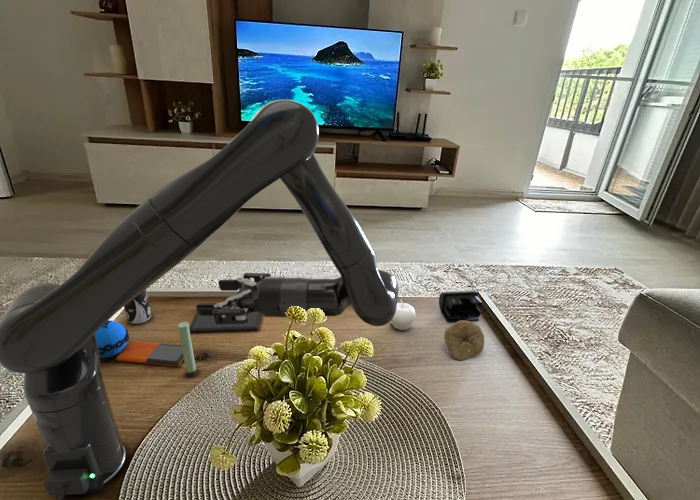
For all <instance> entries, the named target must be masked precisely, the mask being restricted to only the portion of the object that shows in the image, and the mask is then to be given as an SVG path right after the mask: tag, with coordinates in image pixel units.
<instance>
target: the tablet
mask: <svg viewBox="0 0 700 500" xmlns="http://www.w3.org/2000/svg"><path fill="white" fill-rule="evenodd" d="M233 308H234V309H236V308H237V306H236V304H235V303H233ZM222 309H229V307H228V306H226V307H223V308H222ZM261 315H262V314H261V313H259V312H253V313H249V314H248V316H247V319H248V322H247V323H245V324H216V323H215V319H214V316H205V315H204V316H201V315H199V314H198V311H197V312H196V314H195V316H194V317H193V320H192V322H191V324H190V326H189V330H190V334H205V333H207V334H208V333H210V334H211V333H237V332H239V333H240V332H258V331H259V326H260V321H261ZM222 318H226V316H225V317H222Z"/></svg>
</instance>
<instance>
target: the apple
mask: <svg viewBox="0 0 700 500" xmlns="http://www.w3.org/2000/svg"><path fill="white" fill-rule="evenodd" d="M416 315H417V313H416V310H415V308H414V306H412V305H411V304H409V303H406V302H403V300H402V299H399V302H397V307H396V312H395V315H394V317H393V319H392V320H391V321H390V323H391V325H392V326H393V328H394V329H397V330H399V331H406V330H408V329H409V328H410V327H411V326H412V325H413V323H414V322H415V319H416V317H417V316H416Z"/></svg>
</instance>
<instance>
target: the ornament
mask: <svg viewBox="0 0 700 500" xmlns="http://www.w3.org/2000/svg"><path fill="white" fill-rule="evenodd" d="M95 337H96V341H97V345H98V350H99V358H101V359H108V358H112V357H115V356H117V355H119V354H120V353H121V352H122V351H123V350H124V349H125V348H126V346H127V343H128V342H129V341H130V335H129V331H128V329H127V328H126V327H125V326H124V325H122V324H121V323H120V322H117V321H115V320H108V321H107V322H106V323H105V324H104V325H103V326H102V327H101V328H100V329H99V330H98V331H97V332H96V333H95Z"/></svg>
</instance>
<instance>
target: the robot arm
mask: <svg viewBox="0 0 700 500" xmlns="http://www.w3.org/2000/svg"><path fill="white" fill-rule="evenodd" d="M317 120H318V119H317V117H316V116H315V115H314V113H313V112H312V111H311V109H309V108H308V107H307V106H305V105H304V104H302V103H300V102H299V101H295V100H291V99H277V100H273V101H270V102H268V103H266V104H265V105H263V106H262V107H260V109H258V110H257V112H255V114H254V115H253V116H252V118H251V121H250V122H249V123H247V125H245V127H244V128H243V129H242V130H241V131H240V132H239V133H238V134H237V135H235V137H233V139H231V140H230V141H229V143H227V144H226V145H225V146H224V147H223V148H222V149H220V151H218V152H217V153H216V154H215V155H213V156H212V157H211V158H209V159H207V160H206V161H204V162H202V163H201V164H199V165H196V167H194V168H192V169H190V170H188V171H186V172H184V173H183V174H181V175H180V176H178V177H177V178H175V179H173V180H172V181H170V182H169V183H167V184H166V185H164V186H162V187H161V188H160V189H159V190H157V191H156V192H154V193H153V194H152V195H150V196H149V197H148V198H146V199H145V200H144V201H143V202H142V203H140V204H139V205H138V206H136V207H135V208H134V209H133V210H132V211H130V212H129V213H128V214H127V215H125V216H124V217H123V218H122V220H120V222H118V223H117V224H116V226H114V228H112V230H111V231H110V232H109V233H108V234H107V235H106V236H105V237H104V239H103V240H102V241H101V242H100V243H99V244H98V245H97V247H96V248H95V250H93V251H92V253H91V254H90V256H88V257H87V259H86V260H85V261H84V263H82V264H81V266H80V267H79V268H78V269H77V270H76V271H75V272H74V273H73V274H72V275H70V277H69V278H67V279H66V280H65V281H64V282H62V283H61V284H57V283H42V284H36V285H34V286H30V287H28V288H25V289H24V290H22V291H21V292H20V293H18V295H16V296H15V297H14V298H13V300H12V301H11V302H10V303H9V305H8V307H7V308H6V310H5V312H4V314H3V315H2V317H1V318H0V366H1V367H2V368H4V369H6V370H8V371H10V372H14V373H16V374H17V373H18V374H23V375H24V376H23V393H24V396H25V397H24V398H25V399H26V401H27V404H28V406H29V409H30V411H31V413H32V415H33V418H34V421H35V423H36V426H37V428H38V431H39V434H40V436H41V438H42V440H43V443H44V445H45V448H44V450H43V452H42V456H43V458H44V460H45V464H46V465H47V468H48V470H49V473H48V474H47V476H46V478H45V479H44V480H43V484H44V486H45V488H46V491H47V494H48V495H49V497H54V496H56V497H57V498H56V499H55V500H64V498H65V496H71V495H85V494H99V493H101V492H102V491H103V490H104V487H105V486H106V485H108V484H109V483H110V482H112V481H113V480H114V479H115V478H116V477H117V476H118V475H119V473H120V472H121V471H122V470H123V467H124V466H125V463H126V460H127V453H126V449H125V447H124V445H123V441H122V438H121V435H120V430H119V428H118V425H117V421H116V418H115V415H114V411H113V408H112V404H111V402H110V398H109V394H108V391H107V387H106V383H105V381H104V377H103V374H102V369H101V361H100V357H99V350H98V345H97V341H96V337H95V333H96V332H97V331H98V330H99V329H100V328H101V327H102V326H103V325H104V324H105V323H106V322H107V321H110V319H111V318H112V317H113V316H114V315H116V314H117V313H118V312H119V311H120V310H122V308H124V306H125V305H126V304H127V303H129V302H130V301H131V300H133V299H134V298H135V297H137V296H138V295H139V294H140V293H142V292H143V291H144V290H146V291H147V289H148V288H150V287H151V286H152V285H153V284H154V283H155V282H157V281H159V279H161V278H162V277H164V276H165V274H167V273H169V272H170V271H171V270H172V269H173V268H176V266H177V265H179V264H180V263H182V262H183V261H185V259H186V258H188V256H190V255H192V254H193V253H194V252H195V251H196V250H197V249H198V248H200V247H201V246H202V245H203V244H204V243H205V242H206V241H207V240H208V239H210V238H211V237H213V236H214V234H215V233H217V232H218V231H219V230H220V229H221V228H222V227H223V226H224V225H226V223H227V222H229V220H230V219H232V218H233V216H235V214H237V213H238V212H239V211H240V210H241V209H242V207H244V206H245V205H246V204H247V203H248V202H249V201H251V200H252V199H253V198H254V197H255V196H257V195H258V194H259V193H261V192H262V191H263V190H265V189H267V188H268V187H270V186H271V185H273V184H274V183H275V182H277V181H278V180H280V181H281V182H282V184H283V185H284V186H285V187H286V188H287V190H288V191H289V193H290V194H291V196H292V197H293V199H294V201H296V203H297V205H298V206H299V208H300V209H301V211H302V213H303V214H304V216H305V218H306V219H307V221H308V224H309V225H310V226H311V229H312V230H313V232H314V233H315V235H316V237H317V239H318V240H319V242H320V244H321V246H322V248H323V249H324V250H325V253H326V254H327V257H329V259H330V261H331V262H332V264H333V266H334V267H335V269H336V270H337V271H338V273H339V276H336V277H308V276H301V275H300V276H298V275H297V276H296V275H295V276H294V275H293V276H287V275H285V276H271V273H270V272H269V273H268V272H244V273H243V274H242V277H241V276H240V277H239V276H238V277H237V278H236V279H219V281H218V287H219V290H220V291H222V292H224V291H225V292H226V291H227V292H230V291H231V292H232V291H233V292H237V293H235V294H234V295H232V296H228V297H227V298H226V299H225V300H224V301H221V302H218V303H217V302H199V303H197V305H196V306H195V308H196V311H197V312H198V314H199V315H201V316H204V315H205V316H214V319H215V323H216V324H245V323H247V322H248V319H247V316H248V314H249V313H253V312H259V313H261V315H262V316H263V317H265V318H288V317H287V316H286V314H285V312H286V311H287V309H288V308H289V307H291V306H299V307H301V308H303V309H305V310H306V311H307V310H308V309H310V308H320V309H321V310H323V312H324V313H325V316H324V317H338V316H341V315H342V314H343V313H344V312H345V310H346V309H347V308H348V307H349V306H351V307H352V309H353V311H354V312H355V315H356V316H358V318H359V319H360V320H361V321H362V322H363V323H366V324H367V325H369V326H372V327H383V326H386V325H388V324H389V323H391V320H392V319H393V317H394V315H395V312H396V307H397V303H398V298H399V297H398V295H399V282H398V280H397V278H396V277H395V276H394V275H393V274H392V273H390V272H388V271H385V270H383V269H378V263H377V261H378V259H377V255H376V252H375V250H374V247H373V246H372V244H371V242H370V240H369V239H368V237H367V235H366V233H365V231H364V229H363V228H362V226H361V224H360V223H359V221H358V220H357V218H356V217H355V216H354V214H353V212H352V211H351V210H350V208H349V207H348V206H347V205H346V203H345V202H344V201H343V199H342V198H341V196H339V194H338V193H337V191H336V190H335V188H334V187H333V185H332V184H331V183H330V181H329V179H328V178H327V176H326V174H325V172H324V171H323V169H322V167H321V165H320V163H319V161H318V158H317V156H316V154H315V151H316V148H317V146H318V143H319V136H320V129H319V122H318V121H317ZM252 279H253V280H252ZM233 304H236V306H237V308H236V309H234V308H233ZM226 306H228V307H229V309H222V308H223V307H226ZM225 316H226V318H222V317H225Z"/></svg>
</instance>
